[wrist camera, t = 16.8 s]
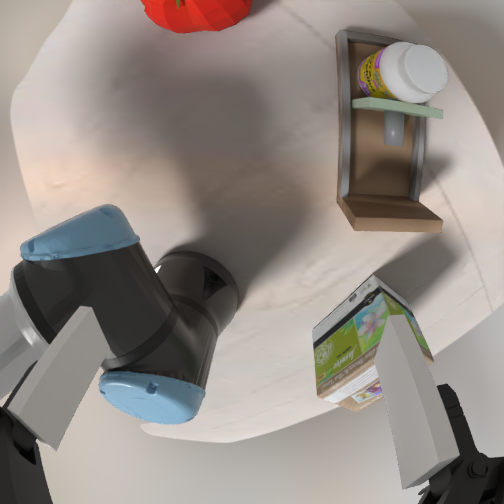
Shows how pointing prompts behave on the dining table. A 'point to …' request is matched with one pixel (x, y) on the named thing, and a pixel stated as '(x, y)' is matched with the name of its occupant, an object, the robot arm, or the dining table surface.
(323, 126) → the dining table surface
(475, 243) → the dining table surface
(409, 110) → the pusher
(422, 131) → the lane
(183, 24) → the tomato
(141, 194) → the dining table surface
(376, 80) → the supplement bottle
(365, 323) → the tea box
